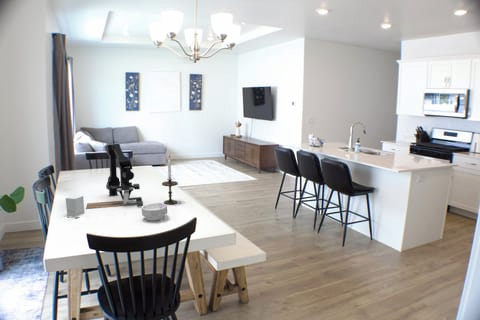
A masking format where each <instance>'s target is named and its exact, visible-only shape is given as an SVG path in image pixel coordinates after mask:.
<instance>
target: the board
mask: <svg viewBox="0 0 480 320" xmlns="http://www.w3.org/2000/svg"><path fill="white" fill-rule="evenodd" d="M115 207H127V205H124V204H123V200H112V201H111V200H110V201H102V202H98V201H97V202H90V203H89V202H88V203H86V207H85V210H93V209H106V208H115Z"/></svg>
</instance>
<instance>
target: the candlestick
mask: <svg viewBox="0 0 480 320" xmlns="http://www.w3.org/2000/svg"><path fill="white" fill-rule="evenodd" d="M170 157H171V154H169V156H168V160H167V169H168V171H167V173H168V176H167V177H168V178H167V179H166V180H167V181H163V182H162V183H161V185H162V186H164V187H168V191H167V193H168V197H169V198H168V199H167V200H165V201H163V204H166V205H167V206H168V205H169V206H170V205H176V204H178V201H177V200H176V199H172V197H173V195H172V194H173V192H172V187H175V186H177V185H179V182H178V181H175V180H174V181H173V178H172V166H171V165H172V161H171V158H170Z"/></svg>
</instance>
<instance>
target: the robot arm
mask: <svg viewBox="0 0 480 320" xmlns="http://www.w3.org/2000/svg"><path fill="white" fill-rule="evenodd" d="M105 151H106V153H107V155H108V157H109V159H108V161H109V176H108V178H107V182H106V184H105V188H106V190H108V193H109V194H108V197H117V196H119V194H120V196H121V198H122V200H123V194H124V192H123V191H124V190H128V191H129V197H128V199H129V198H131V197H130V196H131V193H132V191H134V190H140V189H141V188H140V184H139V183H132V182H130V181H131V180H133V179H134V178H135V173H134V172H133V171H132V170H133V164H132V162H131V160H130V159H129V158H128V157H127V156H125V154H124V152H123V150H122V148H121V145H120V143H112V144H111V143H109V144H107V145H106V146H105ZM117 166H118V168H119V175H120V176H118V175H117ZM119 177H120V178H119ZM118 193H119V194H118Z"/></svg>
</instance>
